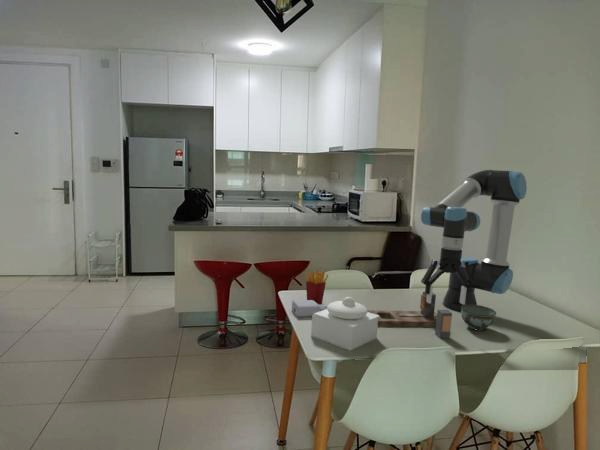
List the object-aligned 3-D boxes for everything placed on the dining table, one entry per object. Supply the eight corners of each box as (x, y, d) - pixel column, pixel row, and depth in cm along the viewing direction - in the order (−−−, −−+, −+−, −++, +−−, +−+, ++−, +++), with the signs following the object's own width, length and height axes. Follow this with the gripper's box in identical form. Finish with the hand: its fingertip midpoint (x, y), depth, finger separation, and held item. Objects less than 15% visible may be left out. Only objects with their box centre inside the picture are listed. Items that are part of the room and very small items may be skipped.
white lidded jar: (310, 336, 169) (313, 294, 167) (339, 325, 183) (342, 286, 181) (350, 351, 158) (354, 307, 156) (377, 338, 172) (381, 297, 169)
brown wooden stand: (433, 315, 201) (436, 289, 200) (446, 326, 189) (450, 298, 187) (367, 314, 197) (369, 287, 195) (376, 325, 184) (378, 296, 183)
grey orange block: (435, 334, 179) (437, 309, 178) (444, 334, 180) (447, 309, 178) (440, 339, 174) (443, 313, 173) (450, 339, 175) (453, 313, 174)
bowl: (454, 321, 196) (456, 303, 195) (486, 323, 196) (488, 305, 195) (464, 333, 182) (467, 313, 181) (499, 335, 182) (501, 316, 181)
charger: (331, 316, 193) (297, 317, 189) (324, 309, 202) (291, 310, 197) (332, 305, 192) (298, 306, 188) (325, 298, 201) (292, 299, 197)
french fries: (315, 306, 204) (317, 273, 202) (301, 301, 210) (303, 269, 207) (327, 302, 211) (330, 270, 209) (313, 298, 216) (315, 267, 214)
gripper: (424, 248, 167) (418, 305, 170) (488, 251, 171) (481, 306, 173) (416, 244, 174) (410, 299, 177) (477, 247, 178) (470, 300, 181)
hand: (445, 303), depth 175 cm, fingers open, 13 cm apart
